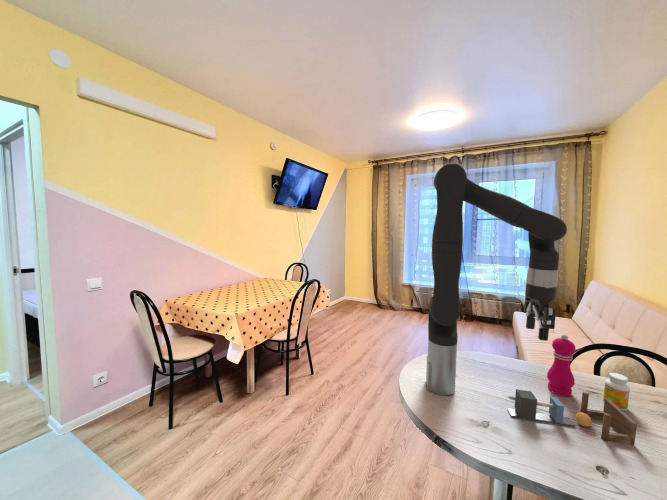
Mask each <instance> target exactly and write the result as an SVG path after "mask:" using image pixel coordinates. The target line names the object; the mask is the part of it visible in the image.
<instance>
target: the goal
mask: <svg viewBox="0 0 667 500" xmlns="http://www.w3.org/2000/svg"><path fill="white" fill-rule="evenodd" d="M581 393H582V394H581V404H580V411H579V412H583V413H585V414H587V415H588V416H589V417H590V418H591V419H597V420H602V427H601V435H600V439H601V440H603V441H604V442H611V443H618V444H625V445H631V446H635V444H636V443H635V442H636V435H637V427H638V423H637V422H636V421H634V419H632V418H631V417H630V416H629V415H628V414H626V413H625V412H624V410H621V409H620V408H618V407H617V406H616V405H615V404H614V403H613V402H612V401H611V400H609V399H605V401H603V410H598V409H591V408H588V406H589V397H590V394H589V393H588V392H584V391H582V392H581ZM611 427H612V428H613V430H615V432H614V431H611Z"/></svg>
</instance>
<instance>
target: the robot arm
mask: <svg viewBox="0 0 667 500" xmlns="http://www.w3.org/2000/svg"><path fill="white" fill-rule="evenodd" d="M467 176H468V175H467V172H466V170H465V169H464V167H463V166H462V165H460V164H458V163H456V162H451V163H446V164H445V165H443V166H441V167H440V168H439V170H437V172H436V173H435V176H434V178H433V186H434V189H435V190H436V215H435V220H434V224H433V229H432V230H433V231H432V237H431V238H432V239H431V265H432V272H433V273H432V274H433V293H432V294H433V295H432V296H431V298H430V299H429V303H428V322H427V323H428V324H427V325H428V327H427V329H428V339H427V340H428V341H427V356H426V367H425V368H426V370H425V371H426V372H425V383H426V390H427V391H430V392H432V393H434V394H436V395H441V396H451V395H453V394H454V393H455V391H456V380H457V379H456V378H457V377H456V375H457V355H458V354H457V352H458V326H457V325H458V323H457V322H458V320H459V319H460V315H461V306H460V294H459V293H460V290H459V289H460V287H459V286H460V276H461V269H462V262H463V261H462V260H463V259H462V258H463V247H464V244H463V243H464V223H463V219H464V218H463V206H464V205H463V204H464V202H465V203H468V204H470V205H472V206H474V207H476V208H478V209H480V210H482V211H484V212H485V213H486V214H487V213H488V214H489V215H491V216H492V217H495V218H497V219H499V220H501V221H502V222H504V223H506V224H508V225H510V226H513V227H515V228H519V229H522V230H525V231H526V232H528V234H527V236H528V247H529V258H528V259H529V261H528V269H527V272H526V281H525V293H524V303H523V304H524V305H523V313H524V314H525V317H526V321H525V322H526V323H525V328H526V329H527V330H534V329H535V328H536V321H538V325H539V327H538V328H539V329H538V334H537V335H538V337H537V339H538V340H540V341H545V342H546V341H549V332H550V330H554V329H555V328H556V312H557V310H556V308H555V307H554V308H553V307H550V303H551V302H554V301H556V300H557V299H556V298H557V290H558V281H559V274H558V271H559V262H560V253H559V252H558V251H557V249H556V247H555V242H556V241H560V240H562V239H563V238H564V237H565V236H566V234H567V231H568V229H567V225H566V222H565V221H563V220H562V219H561V218H559V217H557V216H556V215H553V214H550V213H548V212H545V211H542V210H539V209H536V208H533V207H531V206H529V205H528V204H526V203H523V202H522V201H520V200H518V199H516V198H513V197H511V196H510V195H507V194H504V193H501V192H499V191H498V192H497V191H494V190H491V189H489V188H486V187H484V186H482V185H479V184H478V183H476V182H473V180H470V179H469V178H468V177H467Z"/></svg>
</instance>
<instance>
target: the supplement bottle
mask: <svg viewBox="0 0 667 500" xmlns="http://www.w3.org/2000/svg"><path fill="white" fill-rule="evenodd" d="M628 379H629V378H628V377H626V376H625V375H623V374H621V373H617V372H609V374H608V378H606V379H605V381H604V390H603V396H602V402H604V401H605V399H609V400H611V401H612V402H613V403H614V404H615V405H616V406H617V407H618V408H620V409H621V410H622V411H627V410H628V407H629V399H630V392H631V388H630V386H629V385H628Z"/></svg>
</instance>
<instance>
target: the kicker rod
mask: <svg viewBox="0 0 667 500" xmlns="http://www.w3.org/2000/svg"><path fill="white" fill-rule="evenodd" d="M538 406H539V407H545V408H548V415H551V416H552V418H553V419H554V420H555V422H557V423H563V417H564V413H565V406H564V404H563V403H562V402H561V401H560V400H559V398H558V397H555V396H549V403H548V402H541V401H538V399H537V398H536V396H535V394H534V393H533V392H532V391H531V390H524V389H515V398H514V409H515V410H516V411H517V413H518V414H519V416H520V417H525V418H531V419H536V413H537V409H538V408H537V407H538Z"/></svg>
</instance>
